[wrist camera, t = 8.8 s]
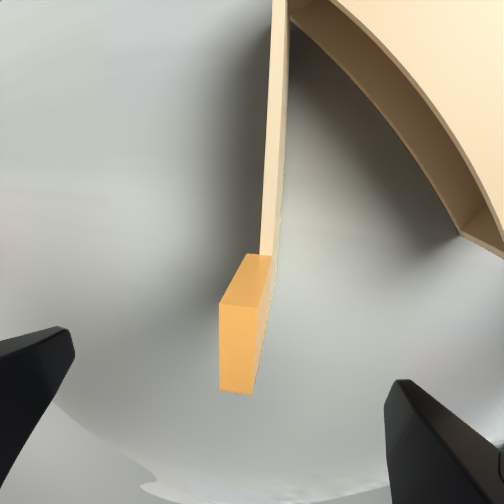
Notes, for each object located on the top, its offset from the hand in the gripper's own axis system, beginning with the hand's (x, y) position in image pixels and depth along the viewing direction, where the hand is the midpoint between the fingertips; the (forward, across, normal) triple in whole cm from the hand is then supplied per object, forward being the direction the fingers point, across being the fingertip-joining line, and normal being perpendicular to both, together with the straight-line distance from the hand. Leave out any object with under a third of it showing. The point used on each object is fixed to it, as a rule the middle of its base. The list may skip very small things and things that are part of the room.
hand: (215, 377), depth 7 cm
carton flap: (+12, 0, -6) cm, 13 cm away
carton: (+12, -12, -14) cm, 22 cm away
